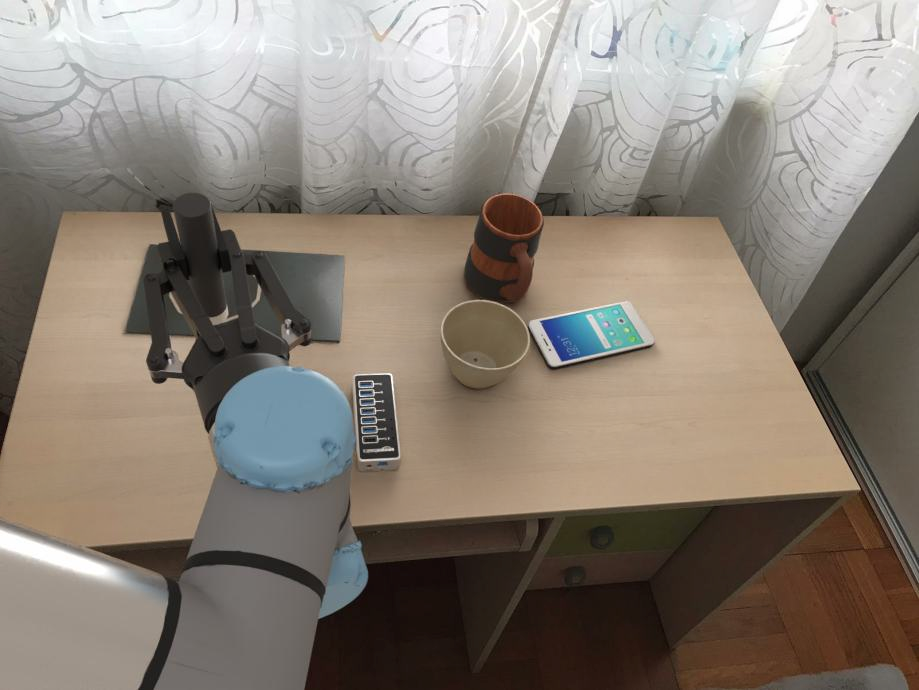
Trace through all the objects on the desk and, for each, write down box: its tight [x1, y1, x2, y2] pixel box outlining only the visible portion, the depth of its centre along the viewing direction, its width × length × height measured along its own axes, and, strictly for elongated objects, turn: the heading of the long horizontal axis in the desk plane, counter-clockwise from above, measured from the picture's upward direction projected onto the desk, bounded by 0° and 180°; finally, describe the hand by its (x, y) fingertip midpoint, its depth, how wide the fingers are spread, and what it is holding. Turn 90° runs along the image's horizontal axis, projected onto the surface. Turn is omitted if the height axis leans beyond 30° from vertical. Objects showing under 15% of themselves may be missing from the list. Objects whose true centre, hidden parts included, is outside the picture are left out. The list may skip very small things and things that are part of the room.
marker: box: [172, 192, 228, 325], centre depth 67 cm, size 3×3×14 cm
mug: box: [463, 193, 545, 304], centre depth 92 cm, size 9×12×12 cm
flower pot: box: [440, 299, 531, 390], centre depth 85 cm, size 10×10×7 cm
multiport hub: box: [351, 372, 402, 473], centre depth 80 cm, size 4×11×2 cm, turn 8°
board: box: [124, 243, 346, 343], centre depth 90 cm, size 24×14×1 cm, turn 93°
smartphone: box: [527, 300, 655, 370], centre depth 93 cm, size 7×1×15 cm
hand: (188, 217), depth 69 cm, fingers closed on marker, 3 cm apart
